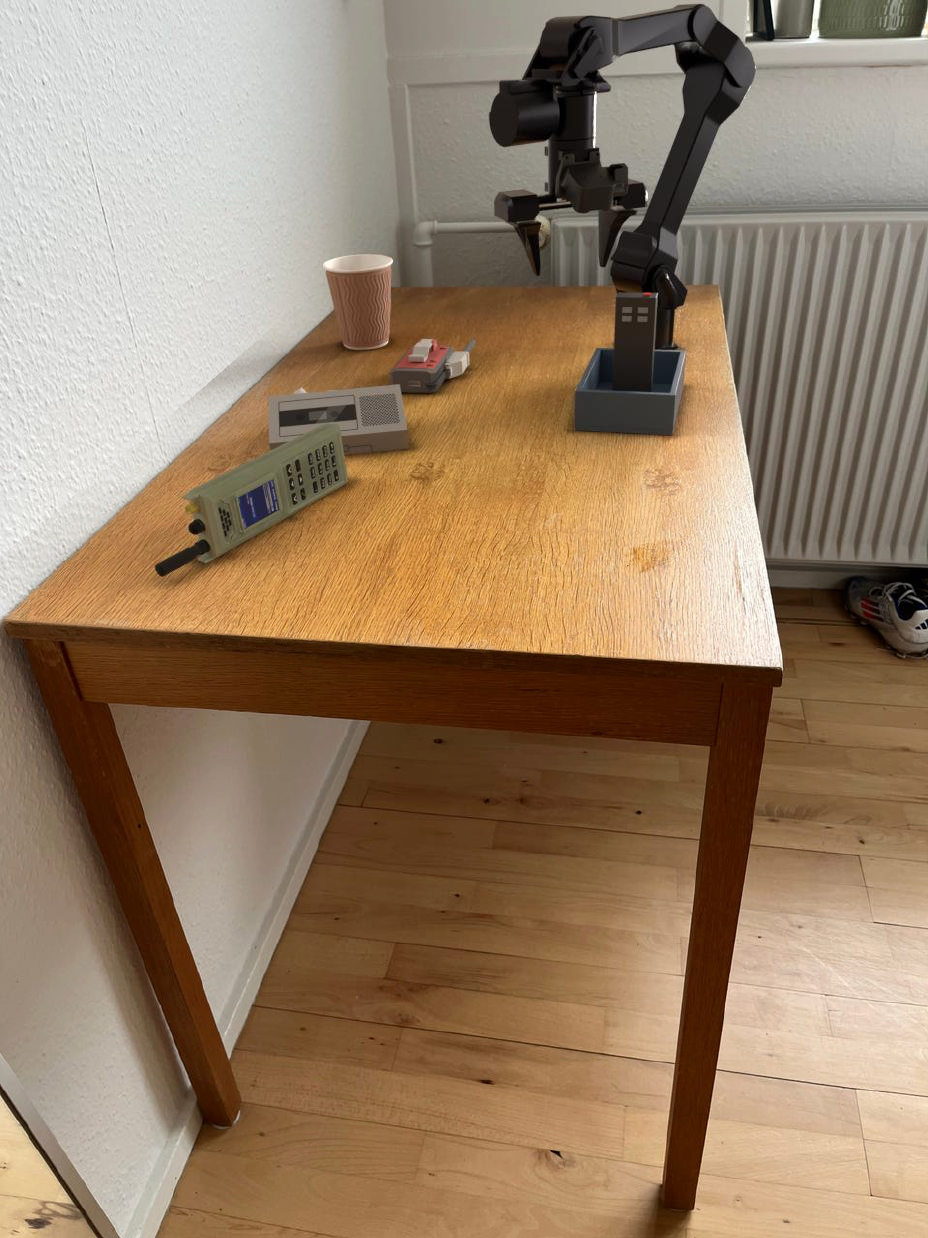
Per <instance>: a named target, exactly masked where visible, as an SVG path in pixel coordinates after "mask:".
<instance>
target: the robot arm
mask: <svg viewBox="0 0 928 1238" xmlns="http://www.w3.org/2000/svg"><path fill="white" fill-rule="evenodd" d="M669 46H673V47H674V54H675V61H676V62H675V63H676V64H677V66H678V67H679V68H680V70H681V71H682V72H683V74H684V75H685V77H684V80H683V84H682V89H681V95H682V103H683V105H682V106H683V116H682V119H681V121H680V124H679V126H678V129H677V131H676V134H675V137H674V140H673V142H672V145H671V147H670V150H669V152H668V155H667V157H666V160H665V161H664V165H663V168H662V170H661V172H660V175H659V178H658V180H657V183H656V185H655V188H654V191H653V193H652V196H651V199H650V201H649V204H648V199H649V197H648V196H649V192H648V189H647V186H646V185H645V183H644V182H642V181H639V180H635V179H632V178H630V169H629V166H628V165H627V164H626V163H625V162H620V163H611V164H610V165H609V166H602V165H603V164H602V161H601V152H600V147H599V146H596V125H597V123H596V122H597V94H603V93H610V92H611V90H612V85H611V84H610V83H609V82H608V81H607V80H606V79H605V78H604V77H603V76H602V74H601V72H600V71H599V70H601V69H604V68H606V67H607V66H610V65H612V64H613V63H614V62H615V61H616V60H617V59H619V58H621V57H622V56H624V55H628V54H632V53H633V54H634V53H638V52H639V53H640V52H643V51H648V50H649V51H650V50H654V49H658V48H663V47H669ZM756 71H757V67H756V63H755V60H754V56H753V53H752V51H751V50H750V48H749V47H748V46H746V45H745V43H744V42H743V41H742V39H741V38H740V36H738V35H737V34H736V33H735V32H733V31H732V30H731V29H730V28H729V27H727V26H726V25H725V24H724V23H722V22H721V21H720V20H719V19H718V18H717V17H716V15H715V13H714V12H713V9H711V8H710V7H709V6H707V5H706V4H705V3H689V4H688V3H686V4H677V5H675V6H673V7H672V8H666V9H661V10H654V11H650V12H644V13H643V12H642V13H638V14H633V15H626V16H620V17H611V16H601V15H591V14H590V15H570V16H569V15H566V16H555V17H551V18H550V19H549V20H547V21H546V22H545V26H544V27H543V29H542V32H541V35H540V39H539V42H538V45H537V47H536V49H535V51H534V53H533V55H532V57H531V59H530V62H529V63H528V65H527V68H526V70H525V72H524V74H523V76H522V78H521V79H520V80H519V79H503V80H502V79H501V80H500V81H499V82H498V91H499V92H498V93H497V94H496V95H495V96H494V98H493V101H492V103H491V106H490V111H489V113H488V122H489V129H490V133H491V135H492V138H493V139H494V141H495V143H496V144H497V145H498V146H499V147H502V148H509V147H517V146H524V145H531V144H537V143H544V142H547V145H545V146H544V156H545V157H547V181H546V182H544V192H546V193H545V194H537V193H534V192H532V191H530V190H527V189H525V188H523V189H513V190H505V191H498V193H497V194H496V195H495V198H494V201H493V214H494V216H495V217H497V218H498V219H501V220H503V221H504V223H506V224H508V225H510V226H512V227H513V228H514V230H515V232H516V234H517V236H518V237H519V240H520V241H521V244H522V246H523V248H524V251H525V254H526V256H527V260H528V261H529V264H530V267H531V270H532V272H533V275H534V276H536V277H540V276H541V268H542V266H541V248H540V247H541V246H540V231H541V227H542V222H541V221H539V220H537V217H538V215H539V214H540V212H544V211H553V210H561V209H563V210H564V209H571V208H572V209H573V210H574V212H576V213H577V214H588V213H590V212H596V211H598V213H597V216H598V217H597V219H598V221H597V226H598V228H597V231H598V234H597V236H598V237H597V240H598V244H597V245H598V246H597V247H598V250H597V253H598V263H599V267H601V268H602V269H604V268H606V267H607V264H608V261H609V260H610V261H612V263H611V266H610V270H609V276H610V277H611V281H612V284H613V286H614V288H615V292H616V295H617V294H618V292H622V293H658V300H657V317H656V334H655V350H679V344H678V343H676V342H674V333H675V332H674V331H675V318H676V317H675V316H676V314H675V313H676V310H678V308H680V307H683V306H684V304H685V301H686V299H687V295H688V292H689V290H688V289H687V287H686V286H685V284H684V283H683V282H682V281H681V279H679V277H678V275H676V273H675V272H676V270H677V265H678V262H679V252H678V240H677V236H678V232H679V229H680V228H681V227H680V226H681V224H682V222H683V219H684V216H685V214H686V211H687V209H688V206H689V204H690V202H691V199H692V197H693V195H694V192H695V190H696V187H697V184H698V182H699V179H700V177H701V174H702V171H703V169H704V166H705V165H706V162H707V159H708V156H709V154H710V151H711V149H712V146H713V144H714V141H715V140H716V136H717V134H718V131H719V129H720V127H721V125H723V123H724V122H725V121H727V120H728V119H729V117H731V116H732V115H733V114H734V113H735V112H736V111H737V110H738V109H739V108H740V107H741V105H742V103H743V101H744V99H745V98H746V96H747V93H748V92H749V90H750V88H751V86H752V84H753V83H754V79H755V75H756ZM646 207H647V208H646ZM641 208H646V212H645V214H644V217H643V219H642V221H641V223H640V224H639V225H638V226H637V227H636V228H635V229H634V230H633V231H628V230H622V232H621V234H620V235H619V233H620V231H621V229H622V227H623V225H624V224H625V223H626V222H627V221H628V219H630V218H631V217H633V216H636V215H637V214H638V210H637V209H641ZM618 235H619V237H618ZM617 237H618V240H617ZM616 240H617V245H616V248H615V250H614V252H613V253H612V251H613V248H614V246H615V242H616ZM611 253H612V255H611Z"/></svg>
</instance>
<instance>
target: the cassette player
mask: <svg viewBox="0 0 928 1238" xmlns="http://www.w3.org/2000/svg"><path fill="white" fill-rule="evenodd" d="M332 390H333V391H328V390H324V391H323V390H322V391H313V392H312V391H311V392H307V393H301V394H294V393H292V394H290V393H289V394H280V395H270V396H267V397H268V399H267V400H268V401H267V402H268V404H267V405H268V406H267V407H268V444H269V451H271V450H273V449H275V448H277V447H279V446H281V445H283V444H285V443H287V442H289V441H291V440H293V439H295V438H297V437H299V436H301V435H303V434H305V433H307V432H309V431H311V430H313V429H315V428H317V427H319V426H321V425H324V424H328V423H329V424H337V425H339V426H340V431H341V438H342V444H343V450H344V456H351V455H359V454H370V453H381V452H389V451H390V452H391V451H399V450H401V451H402V450H409V449H410V446H409V445H410V444H409V443H410V442H409V431H408V425H407V419H406V413H405V408H404V407H405V406H404V402H403V395H402V393H401V389H400V384H397V385H390V384H387V385H377V386H365V387H357V388H356V387H355V388H346V389H345V388H344V389H332Z"/></svg>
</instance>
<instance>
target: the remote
mask: <svg viewBox="0 0 928 1238" xmlns="http://www.w3.org/2000/svg"><path fill="white" fill-rule="evenodd" d="M657 300H658V293H622V292H618V294H617V293H616V296H615V306H614V307H615V309H614V333H613V334H614V337H613V348H614V362H613V390H612V391H633V392H652V385H653V368H654V351H655V334H656V317H657Z"/></svg>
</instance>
